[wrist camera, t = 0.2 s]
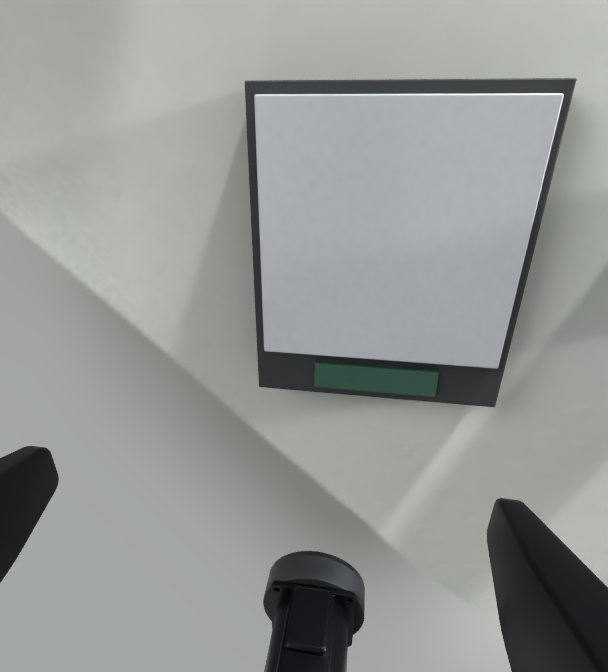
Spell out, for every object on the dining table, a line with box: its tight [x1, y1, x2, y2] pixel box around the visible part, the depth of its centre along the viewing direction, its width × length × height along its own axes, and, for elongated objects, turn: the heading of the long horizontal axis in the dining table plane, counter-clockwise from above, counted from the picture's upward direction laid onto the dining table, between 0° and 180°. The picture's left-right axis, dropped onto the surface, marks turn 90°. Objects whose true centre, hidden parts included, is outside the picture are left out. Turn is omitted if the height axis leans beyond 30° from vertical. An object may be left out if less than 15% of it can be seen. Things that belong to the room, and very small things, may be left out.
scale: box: [245, 78, 576, 407], centre depth 19 cm, size 14×12×2 cm
